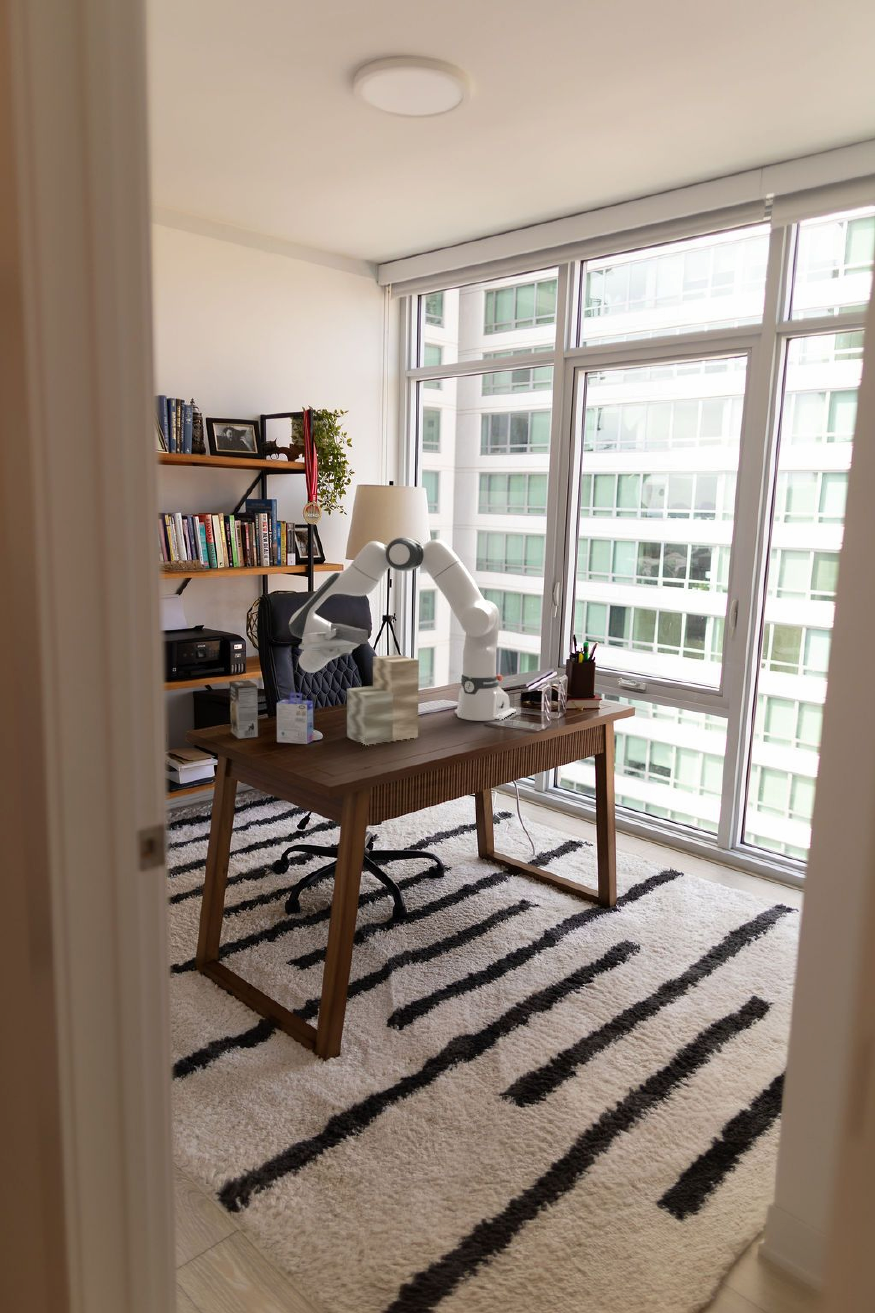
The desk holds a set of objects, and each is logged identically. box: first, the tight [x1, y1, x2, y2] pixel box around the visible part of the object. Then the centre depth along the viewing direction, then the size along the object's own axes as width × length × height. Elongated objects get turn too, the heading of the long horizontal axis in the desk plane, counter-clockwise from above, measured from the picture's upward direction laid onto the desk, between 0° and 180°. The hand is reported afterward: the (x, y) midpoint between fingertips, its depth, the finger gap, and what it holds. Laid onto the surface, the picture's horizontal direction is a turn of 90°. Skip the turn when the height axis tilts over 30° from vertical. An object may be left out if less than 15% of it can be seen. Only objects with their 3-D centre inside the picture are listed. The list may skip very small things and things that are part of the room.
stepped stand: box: [346, 654, 420, 746], centre depth 270 cm, size 12×18×24 cm, turn 124°
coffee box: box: [228, 679, 259, 739], centre depth 272 cm, size 9×6×16 cm
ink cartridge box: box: [276, 692, 314, 745], centre depth 265 cm, size 10×6×14 cm, turn 78°
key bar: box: [331, 623, 369, 645], centre depth 279 cm, size 19×3×4 cm, turn 34°
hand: (342, 630), depth 283 cm, fingers closed on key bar, 3 cm apart
